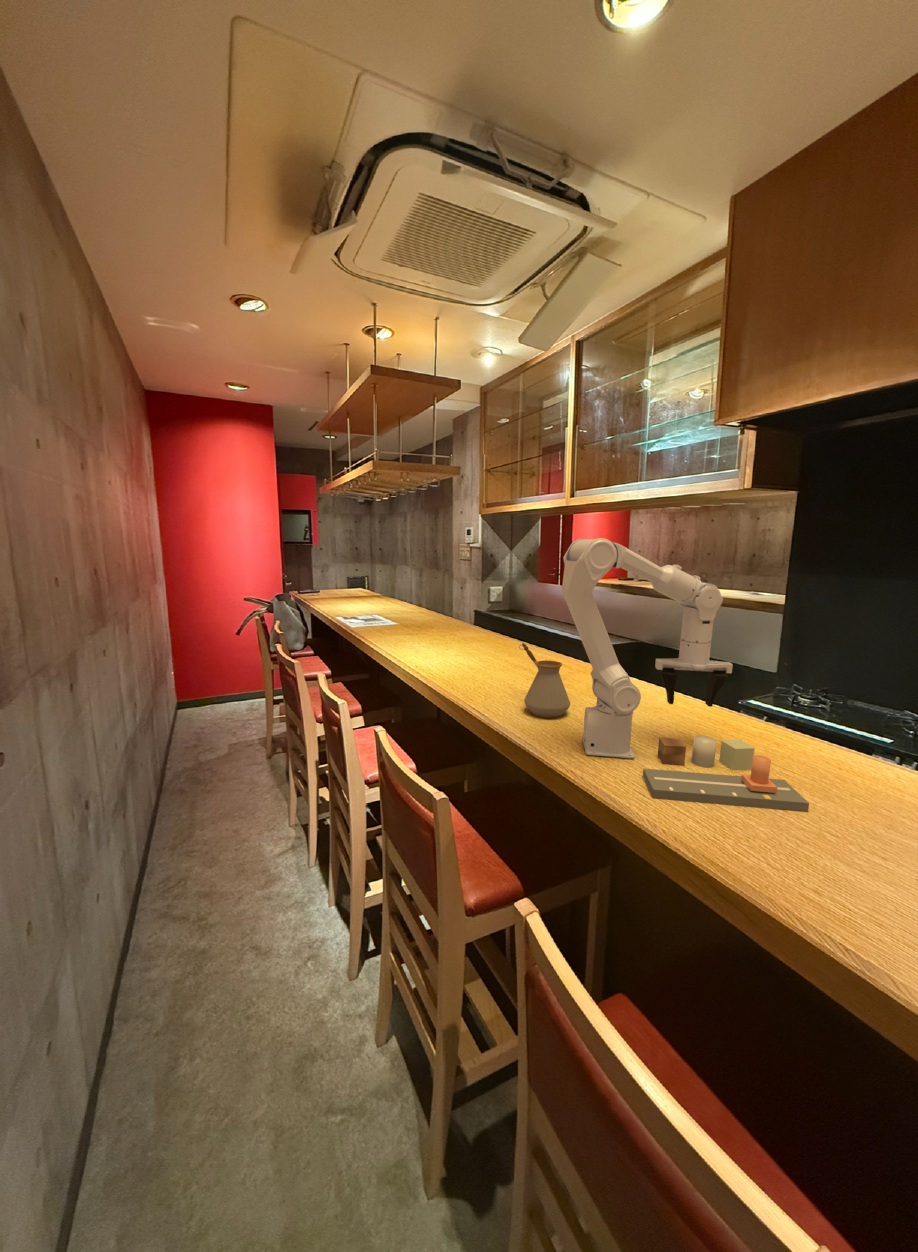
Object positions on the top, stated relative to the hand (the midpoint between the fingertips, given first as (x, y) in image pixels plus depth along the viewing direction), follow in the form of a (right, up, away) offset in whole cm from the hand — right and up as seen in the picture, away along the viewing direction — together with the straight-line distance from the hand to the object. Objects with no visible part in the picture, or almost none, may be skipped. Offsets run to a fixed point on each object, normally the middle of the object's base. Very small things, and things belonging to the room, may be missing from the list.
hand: (689, 704), depth 103 cm
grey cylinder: (0, -11, -6) cm, 12 cm away
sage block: (+6, -11, -7) cm, 14 cm away
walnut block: (-6, -11, -5) cm, 13 cm away
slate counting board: (-3, -13, -18) cm, 22 cm away
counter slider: (+3, -11, -19) cm, 22 cm away
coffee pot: (-28, -5, +26) cm, 38 cm away
